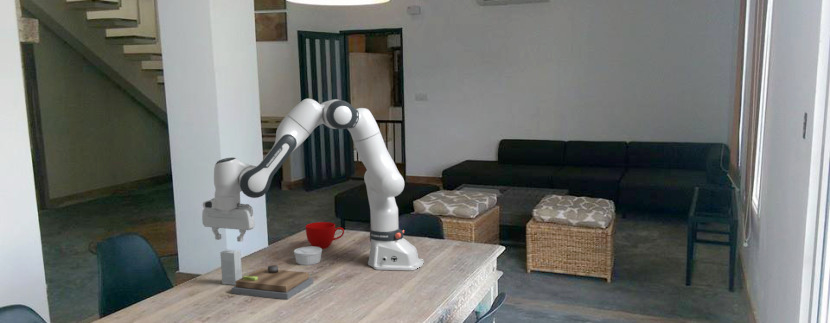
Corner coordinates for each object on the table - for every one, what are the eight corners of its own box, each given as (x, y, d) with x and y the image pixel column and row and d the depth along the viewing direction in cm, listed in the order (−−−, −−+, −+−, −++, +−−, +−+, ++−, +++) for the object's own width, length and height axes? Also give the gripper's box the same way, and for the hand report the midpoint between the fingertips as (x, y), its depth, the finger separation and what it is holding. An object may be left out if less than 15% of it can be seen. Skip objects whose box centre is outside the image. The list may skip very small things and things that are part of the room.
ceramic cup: (342, 250, 271) (342, 228, 270) (303, 251, 272) (302, 228, 270) (346, 243, 284) (345, 221, 283) (309, 243, 285) (308, 222, 283)
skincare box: (242, 281, 231) (241, 250, 229) (235, 285, 227) (234, 253, 225) (228, 280, 233) (227, 249, 231) (221, 284, 229) (219, 252, 227)
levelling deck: (309, 278, 227) (308, 267, 226) (286, 292, 212) (285, 280, 211) (261, 273, 233) (260, 262, 233) (235, 286, 218) (235, 275, 218)
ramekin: (289, 264, 252) (288, 252, 251) (304, 257, 262) (303, 245, 262) (313, 267, 248) (312, 254, 247) (327, 260, 258) (326, 247, 258)
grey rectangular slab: (313, 283, 228) (312, 277, 228) (287, 299, 211) (287, 293, 211) (260, 278, 235) (260, 272, 235) (232, 293, 218) (231, 287, 218)
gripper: (257, 202, 226) (258, 240, 227) (209, 199, 232) (211, 236, 234) (247, 206, 220) (248, 244, 221) (198, 202, 226) (200, 240, 228)
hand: (229, 240), depth 228 cm, fingers open, 8 cm apart
